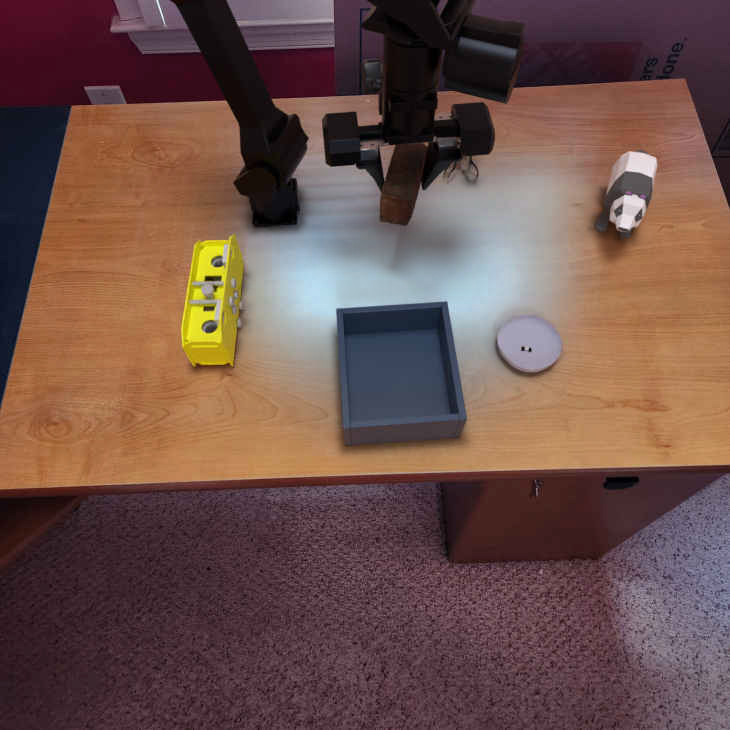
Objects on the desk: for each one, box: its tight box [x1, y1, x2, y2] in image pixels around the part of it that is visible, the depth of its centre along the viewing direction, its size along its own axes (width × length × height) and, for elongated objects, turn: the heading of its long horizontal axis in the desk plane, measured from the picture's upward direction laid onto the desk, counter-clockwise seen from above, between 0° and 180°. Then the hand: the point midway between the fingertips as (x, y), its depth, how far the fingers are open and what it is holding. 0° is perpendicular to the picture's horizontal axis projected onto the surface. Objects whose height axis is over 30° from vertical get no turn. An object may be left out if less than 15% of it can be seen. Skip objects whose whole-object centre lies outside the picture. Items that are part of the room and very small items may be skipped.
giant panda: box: [594, 149, 658, 240], centre depth 79 cm, size 15×6×10 cm, turn 159°
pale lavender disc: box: [496, 313, 563, 373], centre depth 73 cm, size 8×8×2 cm
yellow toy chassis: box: [180, 233, 245, 368], centre depth 73 cm, size 16×6×8 cm, turn 1°
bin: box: [335, 301, 468, 447], centre depth 69 cm, size 14×16×6 cm
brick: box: [379, 143, 428, 227], centre depth 71 cm, size 11×4×5 cm, turn 167°
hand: (403, 189), depth 72 cm, fingers closed on brick, 5 cm apart
